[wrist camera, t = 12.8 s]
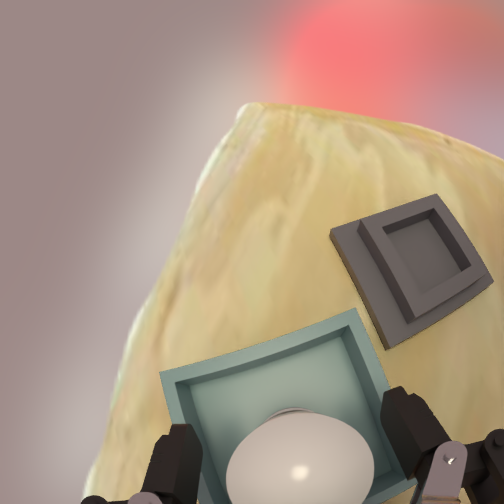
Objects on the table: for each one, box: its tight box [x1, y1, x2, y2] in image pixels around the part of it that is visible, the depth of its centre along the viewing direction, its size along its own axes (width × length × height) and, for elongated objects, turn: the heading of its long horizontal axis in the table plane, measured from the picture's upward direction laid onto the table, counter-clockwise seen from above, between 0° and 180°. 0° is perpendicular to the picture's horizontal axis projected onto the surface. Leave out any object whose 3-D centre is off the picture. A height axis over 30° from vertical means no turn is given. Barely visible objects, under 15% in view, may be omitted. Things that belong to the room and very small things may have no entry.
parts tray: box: [159, 308, 418, 504], centre depth 13 cm, size 12×12×4 cm
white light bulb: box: [226, 407, 374, 504], centre depth 10 cm, size 4×4×10 cm
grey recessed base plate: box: [330, 193, 494, 350], centre depth 19 cm, size 12×10×2 cm
